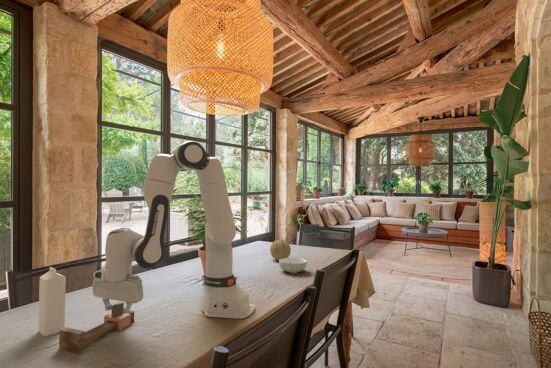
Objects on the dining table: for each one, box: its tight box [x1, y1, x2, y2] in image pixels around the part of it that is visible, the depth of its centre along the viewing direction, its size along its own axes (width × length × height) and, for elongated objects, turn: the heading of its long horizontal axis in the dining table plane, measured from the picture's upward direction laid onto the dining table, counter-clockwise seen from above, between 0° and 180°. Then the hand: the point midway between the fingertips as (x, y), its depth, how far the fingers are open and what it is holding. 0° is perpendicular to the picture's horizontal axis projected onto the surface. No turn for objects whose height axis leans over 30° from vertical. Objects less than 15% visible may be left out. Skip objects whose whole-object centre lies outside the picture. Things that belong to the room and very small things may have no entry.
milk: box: [37, 266, 67, 337], centre depth 111 cm, size 6×6×22 cm
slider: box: [103, 301, 132, 331], centre depth 116 cm, size 7×5×8 cm
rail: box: [58, 310, 135, 355], centre depth 109 cm, size 8×24×6 cm, turn 162°
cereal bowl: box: [278, 257, 308, 274], centre depth 194 cm, size 17×17×7 cm
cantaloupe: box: [269, 238, 292, 261], centre depth 224 cm, size 15×15×15 cm
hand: (117, 311), depth 116 cm, fingers open, 7 cm apart
